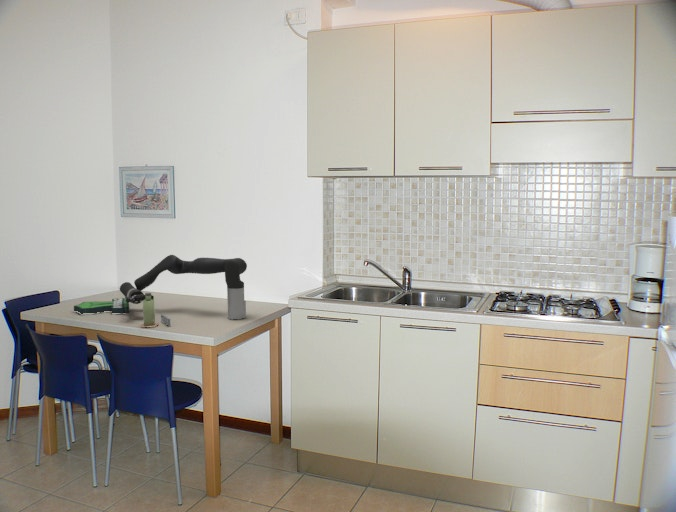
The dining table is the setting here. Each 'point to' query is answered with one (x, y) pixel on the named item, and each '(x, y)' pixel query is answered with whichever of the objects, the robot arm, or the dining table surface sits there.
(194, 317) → the dining table surface
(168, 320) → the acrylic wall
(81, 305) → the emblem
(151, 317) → the bottle
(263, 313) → the dining table surface
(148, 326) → the coaster
